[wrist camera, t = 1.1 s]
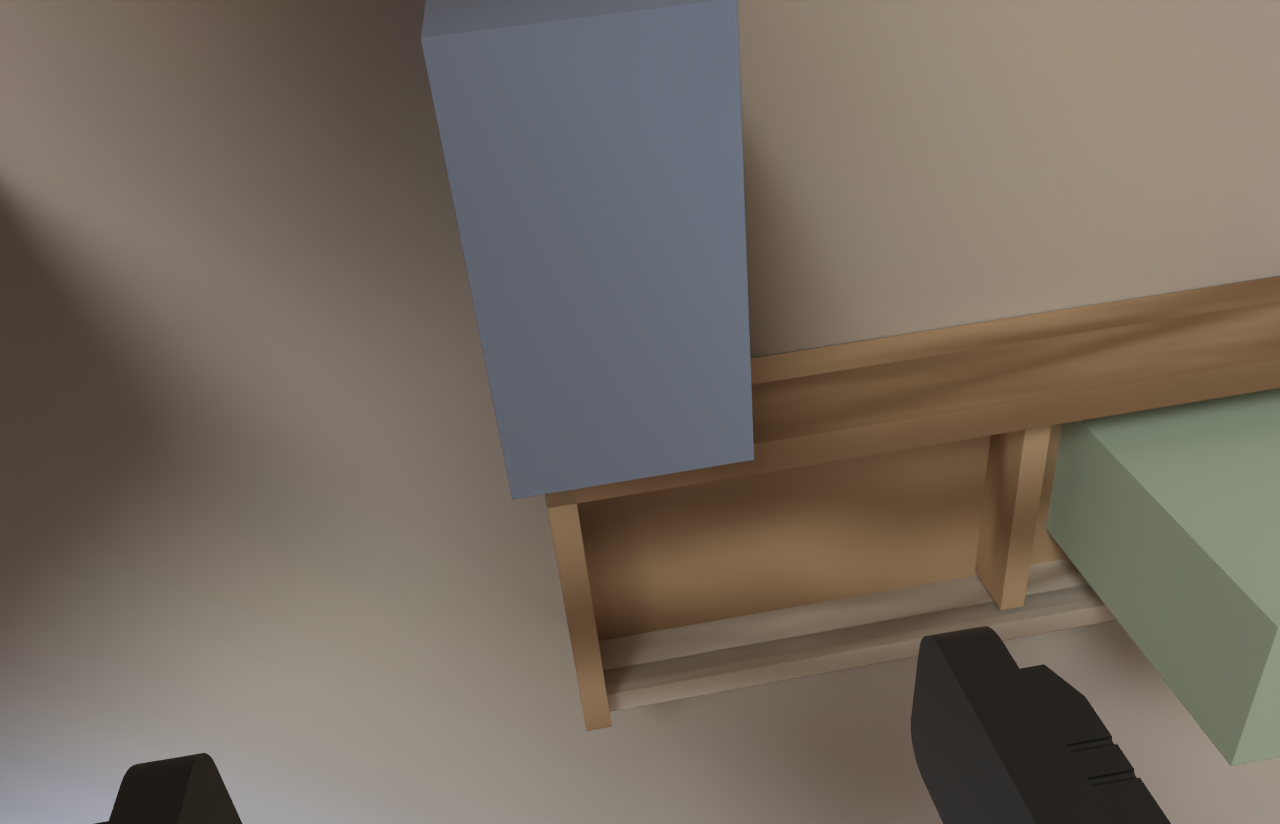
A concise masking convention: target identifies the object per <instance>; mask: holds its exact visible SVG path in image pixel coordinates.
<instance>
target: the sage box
mask: <svg viewBox="0 0 1280 824" xmlns="http://www.w3.org/2000/svg"><path fill="white" fill-rule="evenodd" d="M1046 529H1047V531H1048V532H1049V533H1050V534H1051V536H1052V537H1053V538H1054V540H1055V541H1056V542H1057V543H1058V545H1059V546H1060V547H1061V549H1062V550H1063V551H1064V552H1065V554H1066V555H1067V556H1068V558H1069V559H1070V560H1071V561H1072V563H1073V564H1074V565H1075V567H1076V568H1077V569H1078V570H1079V572H1080V573H1081V574H1082V576H1083V577H1084V578H1085V579H1086V581H1087V582H1088V583H1089V585H1090V586H1091V587H1092V588H1093V590H1094V591H1095V592H1096V594H1097V595H1098V596H1099V597H1100V599H1101V600H1102V601H1103V603H1104V604H1105V605H1106V606H1107V608H1108V609H1109V610H1110V612H1111V613H1112V614H1113V615H1114V617H1115V618H1116V619H1117V621H1118V622H1119V623H1120V624H1121V626H1122V627H1123V628H1124V630H1125V631H1126V632H1127V633H1128V635H1129V636H1130V637H1131V639H1132V640H1133V641H1134V642H1135V644H1136V645H1137V646H1138V648H1139V649H1140V650H1141V651H1142V653H1143V654H1144V655H1145V657H1146V658H1147V659H1148V660H1149V662H1150V663H1151V664H1152V666H1153V667H1154V668H1155V669H1156V671H1157V672H1158V673H1159V675H1160V676H1161V677H1162V678H1163V680H1164V681H1165V682H1166V684H1167V685H1168V686H1169V687H1170V689H1171V690H1172V691H1173V693H1174V694H1175V695H1176V696H1177V698H1178V699H1179V700H1180V702H1181V703H1182V704H1183V705H1184V707H1185V708H1186V709H1187V711H1188V712H1189V713H1190V714H1191V716H1192V717H1193V718H1194V720H1195V721H1196V722H1197V723H1198V725H1199V726H1200V727H1201V729H1202V730H1203V731H1204V732H1205V734H1206V735H1207V736H1208V738H1209V739H1210V740H1211V741H1212V743H1213V744H1214V745H1215V747H1216V748H1217V749H1218V750H1219V752H1220V753H1221V754H1222V756H1223V757H1224V758H1225V759H1226V761H1227V762H1228V763H1229V765H1230V766H1235V765H1240V764H1245V763H1250V762H1256V761H1261V760H1266V759H1271V758H1276V757H1280V388H1275V389H1269V390H1263V391H1257V392H1251V393H1245V394H1239V395H1233V396H1227V397H1221V398H1215V399H1209V400H1202V401H1196V402H1190V403H1184V404H1178V405H1172V406H1166V407H1160V408H1154V409H1148V410H1142V411H1136V412H1130V413H1124V414H1117V415H1111V416H1105V417H1099V418H1093V419H1087V420H1081V421H1075V422H1069V423H1063V424H1062V430H1061V436H1060V443H1059V449H1058V455H1057V461H1056V468H1055V474H1054V480H1053V486H1052V493H1051V499H1050V505H1049V511H1048V518H1047V524H1046Z"/></svg>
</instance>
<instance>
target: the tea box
mask: <svg viewBox="0 0 1280 824" xmlns="http://www.w3.org/2000/svg"><path fill="white" fill-rule="evenodd" d="M421 43H422V48H423V53H424V58H425V63H426V68H427V73H428V78H429V83H430V88H431V93H432V98H433V103H434V108H435V113H436V118H437V123H438V128H439V133H440V138H441V143H442V148H443V153H444V158H445V163H446V168H447V173H448V178H449V183H450V188H451V193H452V198H453V203H454V208H455V213H456V219H457V224H458V229H459V234H460V239H461V244H462V249H463V254H464V259H465V264H466V269H467V274H468V279H469V284H470V289H471V294H472V299H473V304H474V309H475V314H476V319H477V324H478V329H479V334H480V339H481V344H482V349H483V354H484V359H485V364H486V369H487V374H488V379H489V384H490V389H491V394H492V399H493V404H494V410H495V415H496V420H497V425H498V430H499V435H500V440H501V445H502V450H503V455H504V460H505V465H506V470H507V475H508V480H509V485H510V490H511V495H512V499H518V498H524V497H530V496H536V495H542V494H548V493H555V492H561V491H567V490H573V489H579V488H585V487H591V486H597V485H603V484H609V483H615V482H622V481H628V480H634V479H640V478H646V477H652V476H658V475H664V474H670V473H676V472H682V471H688V470H695V469H701V468H707V467H713V466H719V465H725V464H731V463H737V462H743V461H749V460H754V443H753V416H752V388H751V361H750V333H749V306H748V279H747V251H746V224H745V196H744V169H743V141H742V114H741V87H740V59H739V32H738V4H737V0H426V2H425V9H424V17H423V24H422V32H421Z"/></svg>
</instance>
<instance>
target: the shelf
mask: <svg viewBox="0 0 1280 824" xmlns="http://www.w3.org/2000/svg"><path fill="white" fill-rule="evenodd" d="M750 361H751V388H752V416H753V443H754V460H749V461H743V462H737V463H731V464H725V465H719V466H713V467H707V468H701V469H695V470H688V471H682V472H676V473H670V474H664V475H658V476H652V477H646V478H640V479H634V480H628V481H622V482H615V483H609V484H603V485H597V486H591V487H585V488H579V489H573V490H567V491H561V492H555V493H548V494H545V497H546V502H547V508H548V514H549V519H550V525H551V531H552V536H553V542H554V548H555V553H556V559H557V565H558V570H559V576H560V582H561V587H562V593H563V599H564V604H565V610H566V616H567V621H568V627H569V633H570V638H571V644H572V650H573V655H574V661H575V667H576V672H577V678H578V684H579V689H580V695H581V701H582V706H583V712H584V718H585V723H586V729H587V731H589V730H595V729H600V728H606V727H611V726H612V725H611V719H610V713H609V712H611V711H617V710H622V709H628V708H633V707H639V706H644V705H650V704H656V703H661V702H667V701H672V700H678V699H683V698H689V697H694V696H700V695H705V694H711V693H716V692H722V691H727V690H733V689H738V688H744V687H749V686H755V685H760V684H766V683H771V682H777V681H782V680H788V679H794V678H799V677H805V676H810V675H816V674H821V673H827V672H832V671H838V670H843V669H849V668H854V667H860V666H865V665H871V664H876V663H882V662H887V661H893V660H898V659H904V658H909V657H915V656H918V654H919V647H920V642H921V640H922V638H923V637H924V636H928V635H934V634H940V633H946V632H952V631H958V630H964V629H970V628H976V627H982V626H988V627H990V628H992V629H993V630H994V631H995V632H996V633H997V634H998V636H999V637H1000V639H1001V640H1002V641H1003V640H1009V639H1014V638H1020V637H1025V636H1031V635H1036V634H1042V633H1047V632H1053V631H1058V630H1064V629H1069V628H1075V627H1081V626H1086V625H1092V624H1097V623H1103V622H1108V621H1114V620H1117V619H1116V618H1115V617H1114V615H1113V614H1112V613H1111V612H1110V610H1109V609H1108V608H1107V606H1106V605H1105V604H1104V603H1103V601H1102V600H1101V599H1100V597H1099V596H1098V595H1097V594H1096V592H1095V591H1094V590H1093V588H1092V587H1091V586H1090V585H1089V583H1088V582H1087V581H1086V579H1085V578H1084V577H1083V576H1082V574H1081V573H1080V572H1079V570H1078V569H1077V568H1076V567H1075V565H1074V564H1073V563H1072V561H1071V560H1070V559H1069V558H1068V556H1067V555H1066V554H1065V552H1064V551H1063V550H1062V549H1061V547H1060V546H1059V545H1058V543H1057V542H1056V541H1055V540H1054V538H1053V537H1052V536H1051V534H1050V533H1049V532H1048V531H1047V529H1046V524H1047V518H1048V511H1049V505H1050V499H1051V493H1052V486H1053V480H1054V474H1055V468H1056V461H1057V455H1058V449H1059V443H1060V436H1061V430H1062V424H1063V423H1069V422H1075V421H1081V420H1087V419H1093V418H1099V417H1105V416H1111V415H1117V414H1124V413H1130V412H1136V411H1142V410H1148V409H1154V408H1160V407H1166V406H1172V405H1178V404H1184V403H1190V402H1196V401H1202V400H1209V399H1215V398H1221V397H1227V396H1233V395H1239V394H1245V393H1251V392H1257V391H1263V390H1269V389H1275V388H1280V276H1277V277H1270V278H1264V279H1257V280H1251V281H1245V282H1238V283H1232V284H1225V285H1219V286H1213V287H1206V288H1200V289H1193V290H1187V291H1180V292H1174V293H1168V294H1161V295H1155V296H1148V297H1142V298H1135V299H1129V300H1123V301H1116V302H1110V303H1103V304H1097V305H1090V306H1084V307H1078V308H1071V309H1065V310H1058V311H1052V312H1045V313H1039V314H1033V315H1026V316H1020V317H1013V318H1007V319H1000V320H994V321H988V322H981V323H975V324H968V325H962V326H955V327H949V328H943V329H936V330H930V331H923V332H917V333H910V334H904V335H898V336H891V337H885V338H878V339H872V340H865V341H859V342H853V343H846V344H840V345H833V346H827V347H821V348H814V349H808V350H801V351H795V352H788V353H782V354H776V355H769V356H763V357H756V358H750Z"/></svg>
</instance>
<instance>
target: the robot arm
mask: <svg viewBox="0 0 1280 824" xmlns="http://www.w3.org/2000/svg"><path fill="white" fill-rule="evenodd" d="M911 736H912V743H913V749H914V753H915V757H916V761H917V764H918V768H919V770H920V773H921V776H922V778H923V780H924V783H925V785H926V787H927V789H928V791H929V793H930V796H931V798H932V800H933V802H934V804H935V806H936V809H937V811H938V813H939V815H940V817H941V819H942V822H943V824H1171V823H1170V822H1169V820H1168V819H1167V817H1166V816H1165V814H1164V813H1163V811H1162V810H1161V808H1160V807H1159V805H1158V804H1157V803H1156V801H1155V800H1154V798H1153V797H1152V795H1151V794H1150V792H1149V791H1148V789H1147V788H1146V786H1145V785H1144V783H1143V782H1142V780H1141V779H1140V778H1136V776H1135V774H1134V768H1133V767H1132V765H1131V764H1130V763H1129V761H1128V760H1127V758H1126V757H1125V755H1124V754H1123V752H1122V751H1121V749H1120V748H1119V746H1118V745H1117V744H1116V745H1114V743H1113V741H1112V736H1111V734H1110V733H1109V731H1108V730H1107V728H1106V727H1105V725H1104V724H1103V723H1102V721H1101V720H1100V718H1099V717H1098V715H1097V714H1096V712H1095V711H1094V709H1093V708H1092V706H1091V705H1090V703H1089V702H1088V700H1087V699H1086V697H1085V696H1084V695H1082V694H1081V693H1080V692H1079V691H1077V690H1076V689H1075V688H1073V687H1072V686H1071V685H1070V684H1068V683H1067V682H1066V681H1064V680H1063V679H1062V678H1061V677H1059V676H1058V675H1057V674H1056V673H1054V672H1053V671H1052V670H1050V669H1049V668H1048V667H1047V666H1045V665H1039V666H1033V667H1027V668H1021V669H1019V667H1018V666H1017V664H1016V662H1015V661H1014V659H1013V658H1012V656H1011V654H1010V653H1009V651H1008V650H1007V648H1006V646H1005V645H1004V643H1003V642H1002V640H1001V639H1000V637H999V636H998V634H997V633H996V632H995V631H994V630H993V629H992V628H990V627H988V626H982V627H976V628H970V629H964V630H958V631H952V632H946V633H940V634H934V635H928V636H924V637H923V638H922V640H921V642H920V647H919V654H918V663H917V672H916V681H915V690H914V699H913V707H912V716H911ZM96 824H242V822H241V820H240V818H239V815H238V813H237V811H236V809H235V807H234V804H233V802H232V800H231V798H230V796H229V793H228V791H227V789H226V787H225V785H224V782H223V780H222V778H221V776H220V774H219V771H218V769H217V767H216V765H215V763H214V761H213V759H212V758H211V757H210V756H209V755H208V754H206V753H201V754H195V755H189V756H183V757H177V758H171V759H165V760H159V761H153V762H147V763H141V764H136V765H133V766H132V767H130V768H129V769H128V771H127V772H126V774H125V776H124V777H123V780H122V783H121V785H120V789H119V792H118V795H117V798H116V801H115V804H114V807H113V810H112V813H111V816H110V819H109V821H107V822H102V823H96Z"/></svg>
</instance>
